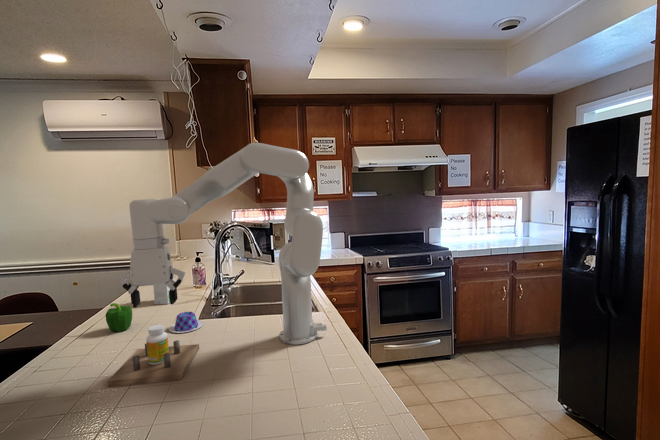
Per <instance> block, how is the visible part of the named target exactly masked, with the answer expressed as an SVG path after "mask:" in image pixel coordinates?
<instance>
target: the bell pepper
mask: <svg viewBox="0 0 660 440" xmlns="http://www.w3.org/2000/svg"><path fill="white" fill-rule="evenodd" d="M109 306H110V307H113V306H114V307H115V308H109V309H108V310H107V311H106V313H105V321H106V324H107V327H108V329H109V330H110V331H111V332H124V331H126V330H128V329H130V328H131V325H132V320H133V309H132V307H131V305H126V306H124V305H120V304H119V303H115V302H113V303H110V304H109Z"/></svg>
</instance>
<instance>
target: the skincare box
mask: <svg viewBox="0 0 660 440" xmlns="http://www.w3.org/2000/svg"><path fill="white" fill-rule="evenodd" d="M173 268H175V267H174V265H173ZM173 280H174V281H175V282H176V280H175V277H174V278H173ZM152 286H153V299H154V305H169V304H170V299H169V291H170V288H169V287H168V286H167V285H166V284H162V285H152Z"/></svg>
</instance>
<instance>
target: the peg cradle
mask: <svg viewBox="0 0 660 440" xmlns="http://www.w3.org/2000/svg"><path fill="white" fill-rule="evenodd" d="M199 350H200V344H198V343H196V344H187V345H186V344H185V345H180V340H174V341H173V346H172V345H171V346H169V353H165V354H164V363H161V364H157V365H151V364H149V363H148V353H147V342H146V343H144V348H138V349H137V350H136V351H135V352H134V353H133V354H132V355H131V356H130V357H129V358H128V359H126V361H125V362H124V363H123V364H122V365H121V366H120V367H119V369H118V370H117V371H116V372H115V373H113V375H112V376H111V377H110V378H109V379H107V387H118V386H128V385H129V386H131V385H140V384H142V385H143V384H152V383H153V384H154V383H162V382H174V381H182V380H183V378H184V377H185V375H186V373H187V371H188V369H189V367H190V366H191V364H192V362H193V361H194V359H195V357H196V355H197V354H198V352H199Z"/></svg>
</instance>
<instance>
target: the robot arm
mask: <svg viewBox="0 0 660 440" xmlns="http://www.w3.org/2000/svg"><path fill="white" fill-rule="evenodd" d="M309 168H310V161H309V159H308V157H307V156H306V155H305V153H304V152H303V151H302V152H301V151H300V150H298V149H293V148H287V147H283V146H282V147H281V146H279V145H278V146H277V145H271V144H267V143H261V142H252V143H248V144H247V145H246V146H244V147H243V148H241V149H240V150H238V151H237V152H235V153H234V154H232V155H230V156H229V157H228V158H227V157H226V158H225V159H224V160H223V161H221V162H220V163H218V164H216V165H215V166H213V167H212V168H210V169H208V170H207V171H206V172H204V173H203V174H202V176H200V177H198V179H197V180H196V181H195V180H194V182H192V183H191V184H189V185H188V186H186V187H185V188H183V189H182V190H180V191H179V192H177V193H175V194H174V195H172V196H171V197H167V198H161V199H155V198H145V199H134V200H132V201H130V202H129V208H128V209H129V217H130V224H131V225H130V226H131V234H132V235H131V237H132V244H133V245H132V246H133V249H132V250H131V253H130V264H129V265H130V266H129V269H130V270H129V272H126V273H125V274H123V275H122V276H120V277H119V278H118V279H117V281H119V283H120V284H121V286H122V288H123V289H124V290H126V291H127V293H128V294H130V300H131V301H130V302H131V304H132V308H137V307H139V306H140V305H141V293H140V291H139V290H138V289H139V287H147V286H149V287H150V286H153V285H162V284H166V285H167V286H168V287H169V288H170V291H169V299H170V303H169V304H170V305H174V304H175V303H176V302H177V300H178V287H179V286H180V285H181V283H182V282H183V280H184V278H185V276H186V272H185V271H183V270H180V269H177V268H175V267H174V268H173V266H174V264H173V260H172V257H171V252H170V250H169V247H168V246H166V245H167V244H170V239H169V238H166V237H165V235H164V229H163V228H164V227H163V225H180V224H183V223H185V222H187V220H189V218H190V216H191V215H193V214H194V213H196V212H197V211H198V210H200V209H202V208H203V207H205V206H206V205H208V204H209V203H211V202H214V201H215V200H218V199H220V198H223V197H225V196H226V195H228V194H230V193H231V192H232V191H234V190H235V189H237V188H239V187H240V186H241V185H243V184H244V183H246V182H247V181H248V180H250V179H251V178H253V177H255V176H256V175H258V174H264V175H269V176H274V177H275V176H276V177H278V178H279V179H280V180H281V181H282V182H283V184H284V185H285V188H286V191H287V192H286V194H287V195H286V196H287V197H286V208H285V209H286V210H285V219H284V229H285V231H286V233H287V234H288V236H290V237H291V241H289V242H287V243H285V244H284V245H283V246H282V247H281V249H280V250H279V254H278V266H279V270H280V271H279V272H280V278H281V279H280V280H281V302H282V303H281V304H282V321H283V324H282V325H283V330H282V331H280V332H279V334H278V335H279V336H278V338H279V340H280V341H281V342H282V343H285V344H288V345H303V344H307V343H310V342H313V341H315V340H316V339H317V337H318V332H324V331H327V329H328V328H327V324H323V323H322V322H318V323H316V322H314V319H313V311H312V310H313V309H312V308H313V307H312V304H313V303H312V283H311V276H313V274H315V272H317V270H318V268H319V266H320V263H321V255H322V254H321V253H322V244H323V236H324V225H323V221H322V218H321V216H320V215H319V214H318V213H317V212H316V211H314V195H315V194H314V193H315V192H314V191H315V190H314V185H313V184H314V183H313V182H312V179H311V178H310V175H309V174H308V171H309ZM175 276H177V279H176V280H175V281H174V280H173V278H175ZM128 278H130V282H129V281H128Z"/></svg>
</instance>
